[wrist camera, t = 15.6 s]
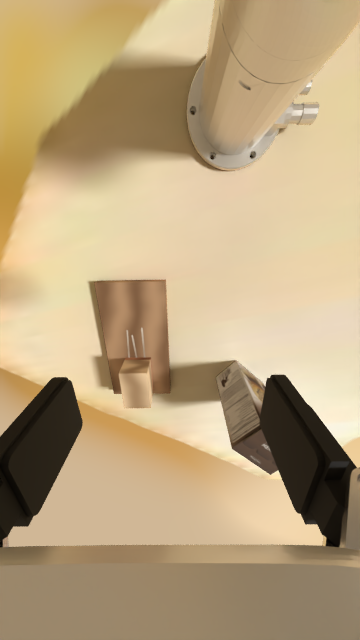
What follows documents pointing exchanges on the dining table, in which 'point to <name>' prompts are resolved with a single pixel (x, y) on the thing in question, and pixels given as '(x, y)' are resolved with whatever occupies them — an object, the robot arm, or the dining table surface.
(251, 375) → the coffee box
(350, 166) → the dining table surface
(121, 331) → the board
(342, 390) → the dining table surface
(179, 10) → the dining table surface
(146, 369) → the block
